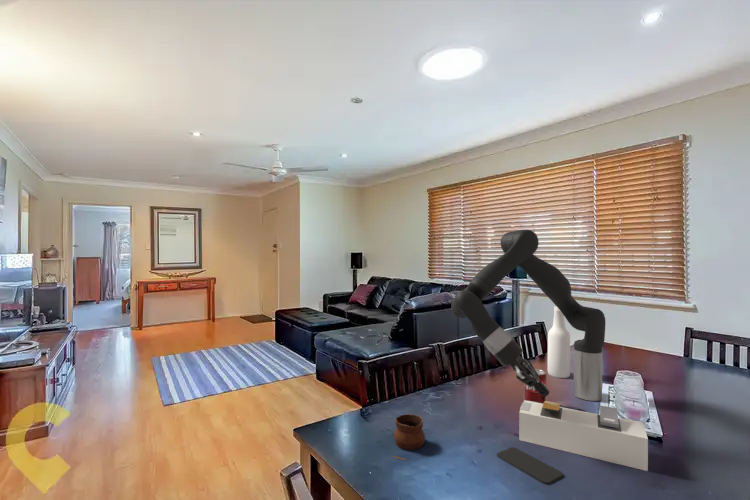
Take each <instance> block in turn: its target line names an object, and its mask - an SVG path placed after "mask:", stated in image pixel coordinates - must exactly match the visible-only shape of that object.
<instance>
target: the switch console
mask: <svg viewBox="0 0 750 500" xmlns="http://www.w3.org/2000/svg"><path fill="white" fill-rule="evenodd" d="M574 409H575V408H567V407H562V406H560V409H559V411H557V410H552V409H547V408H543V404H542V403H537V402H532V401H526V400H524V399H523V402H521V405H520V407H519V414H518V415H519V416H518V420H519V422H518V424H519V426H518V430H519V431H518V432H519V433H518V437H519V438H518V440H519V441H521V442H525V443H530V444H533V445H538V446H542V447H547V448H550V449H554V450H555V449H556V450H559V451H562V452H566V453H571V454H575V455H580V456H584V457H588V458H592V459H597V460H599V461H600V460H601V461H603V462H607V463H612V464H617V465H620V466H625V467H630V468H633V469H638V470H641V471H645V472H648V471H649V438H648V435H647V432H646V429H645V426H644V423H643V422H641V421H636V420H630V419H626V418H622V417H621V418H619V417H618V423H619V429H618V428H613V427H608V426H603V425H601V423H600V413H596V412H595V413H593V412H590V411H589V412H588V411H586V412H584V411H585V410H584V411H579V410H574Z"/></svg>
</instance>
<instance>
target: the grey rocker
mask: <svg viewBox="0 0 750 500" xmlns="http://www.w3.org/2000/svg"><path fill="white" fill-rule="evenodd" d="M599 414H600V423H601V425H603V426H608V427H613V428H618V429H619V423H618V418H619V417H618V408H617V407H612V406H611V407H610V406H606V405H601V404H600V405H599Z"/></svg>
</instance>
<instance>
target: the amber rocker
mask: <svg viewBox="0 0 750 500" xmlns="http://www.w3.org/2000/svg"><path fill="white" fill-rule="evenodd" d="M560 407H561V403H559V402H555V401H554V402H553V401H548V400H546V401H544V403H543V408H547V409H552V410H557V411H559V409H560Z"/></svg>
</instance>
